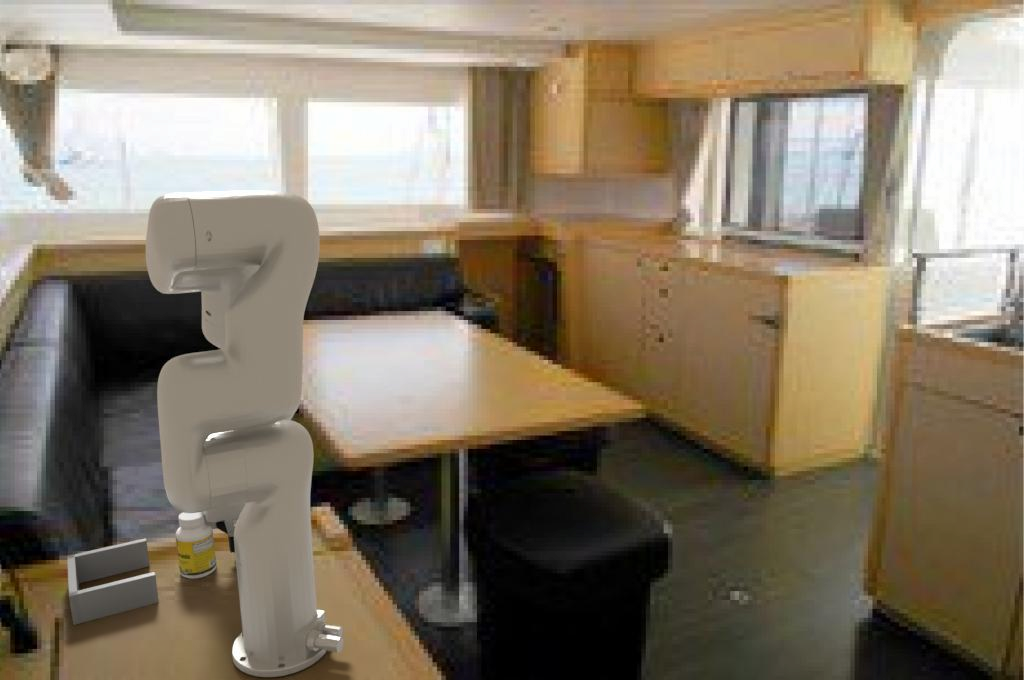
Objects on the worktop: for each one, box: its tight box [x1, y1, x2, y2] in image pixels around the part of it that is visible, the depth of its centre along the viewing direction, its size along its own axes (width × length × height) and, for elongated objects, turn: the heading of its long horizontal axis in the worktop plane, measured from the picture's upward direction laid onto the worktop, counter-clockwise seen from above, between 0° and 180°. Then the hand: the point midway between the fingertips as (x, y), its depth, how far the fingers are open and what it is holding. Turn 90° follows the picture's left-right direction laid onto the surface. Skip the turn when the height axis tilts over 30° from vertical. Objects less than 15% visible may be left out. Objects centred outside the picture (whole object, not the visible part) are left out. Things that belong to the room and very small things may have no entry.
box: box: [66, 537, 160, 626], centre depth 115 cm, size 11×13×4 cm
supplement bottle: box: [175, 512, 217, 580], centre depth 120 cm, size 5×5×10 cm
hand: (240, 553), depth 124 cm, fingers closed
